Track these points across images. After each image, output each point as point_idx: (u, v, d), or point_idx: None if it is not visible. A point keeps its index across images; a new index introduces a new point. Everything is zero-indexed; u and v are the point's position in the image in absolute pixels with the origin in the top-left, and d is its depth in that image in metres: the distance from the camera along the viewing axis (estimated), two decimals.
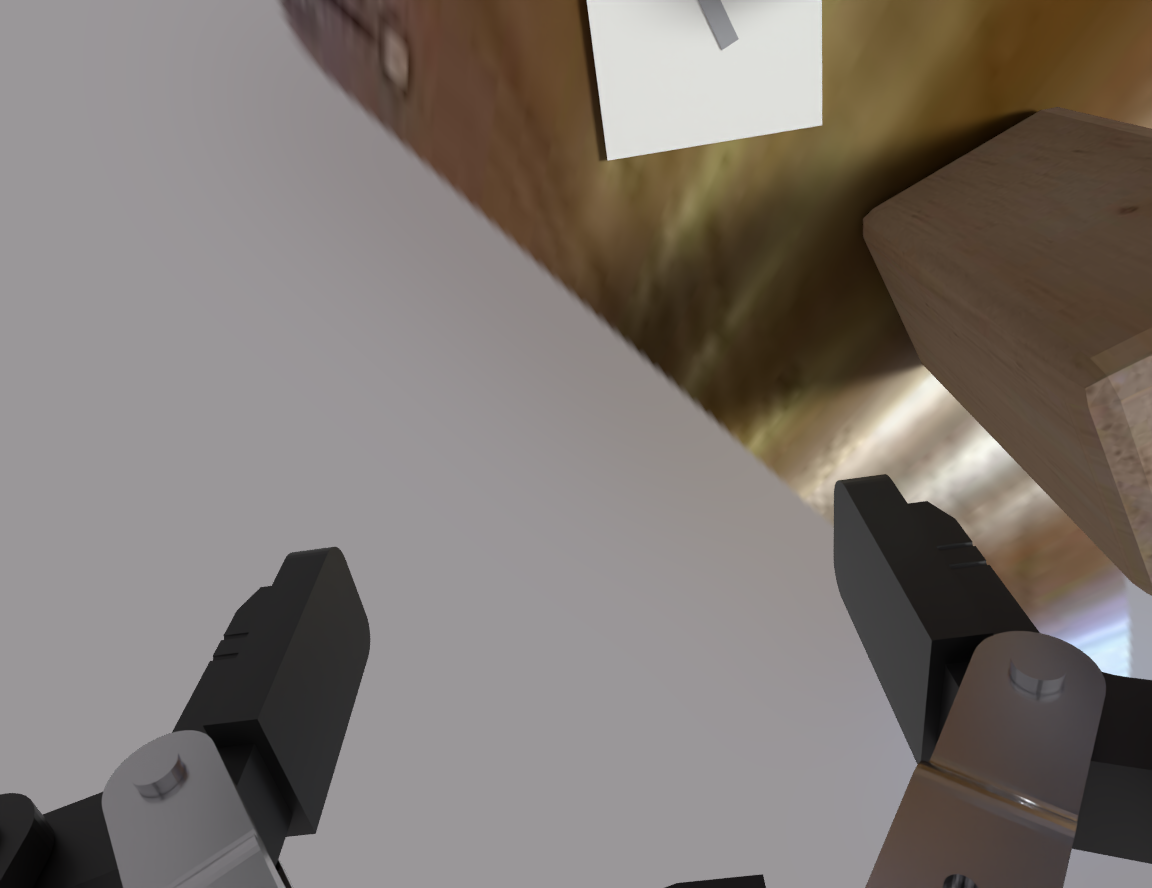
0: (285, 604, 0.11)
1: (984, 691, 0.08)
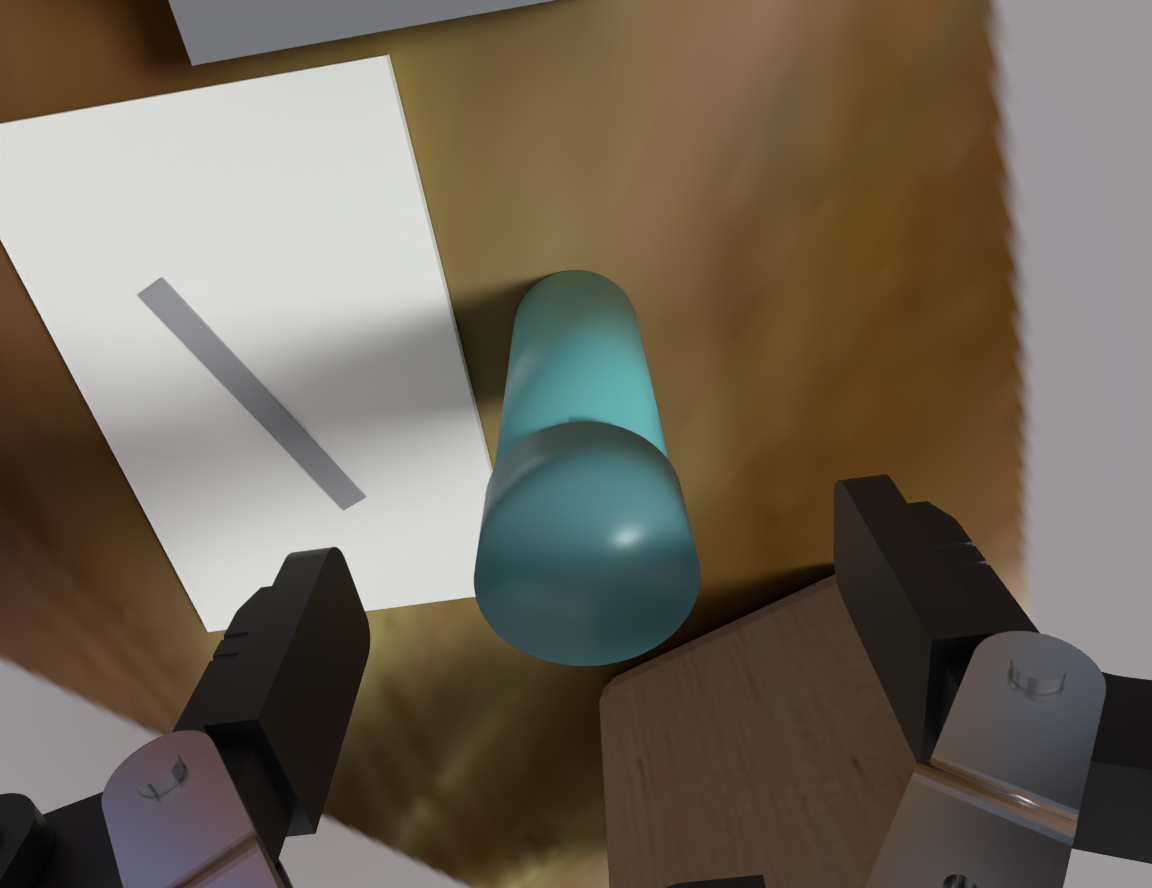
0: (285, 604, 0.11)
1: (984, 691, 0.08)
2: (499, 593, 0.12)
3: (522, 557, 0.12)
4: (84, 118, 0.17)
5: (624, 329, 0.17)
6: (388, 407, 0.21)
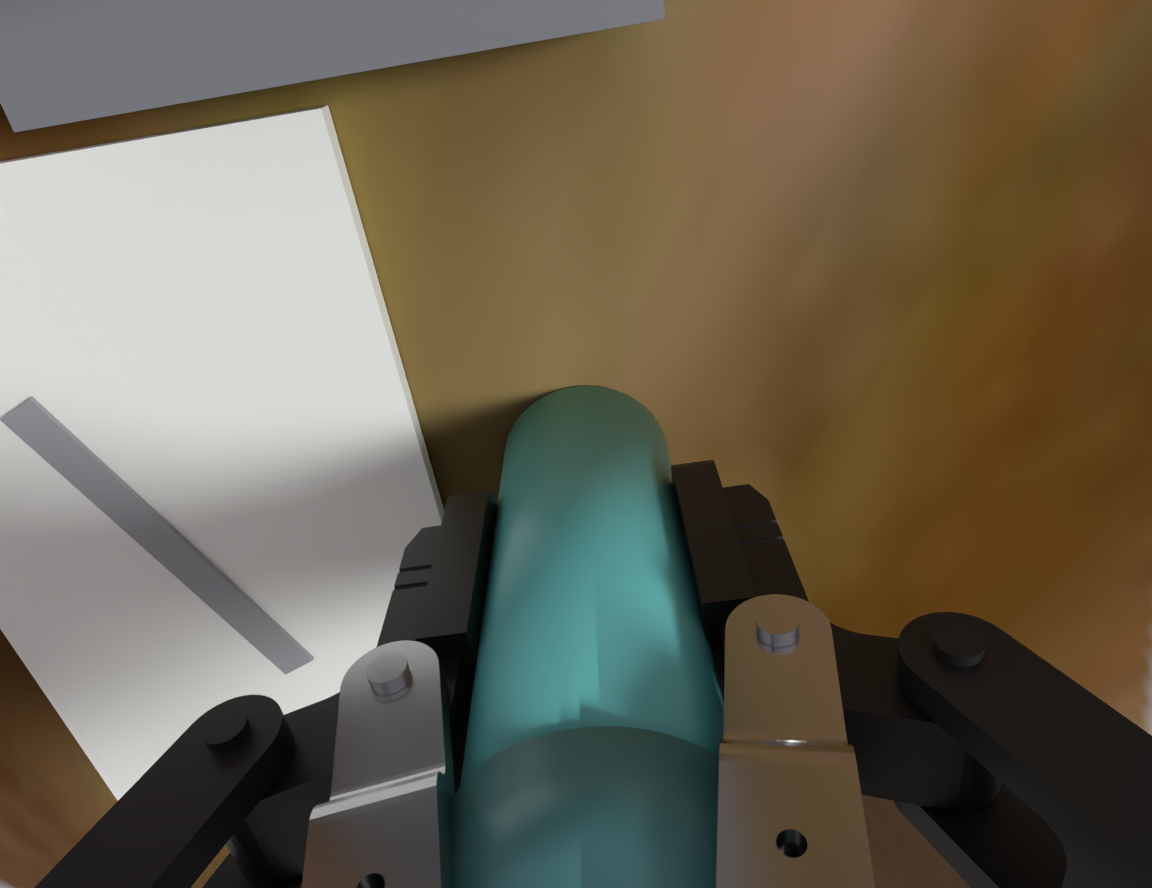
0: (460, 538, 0.12)
1: (745, 659, 0.09)
2: None
3: None
4: None
5: (656, 488, 0.12)
6: (339, 554, 0.16)
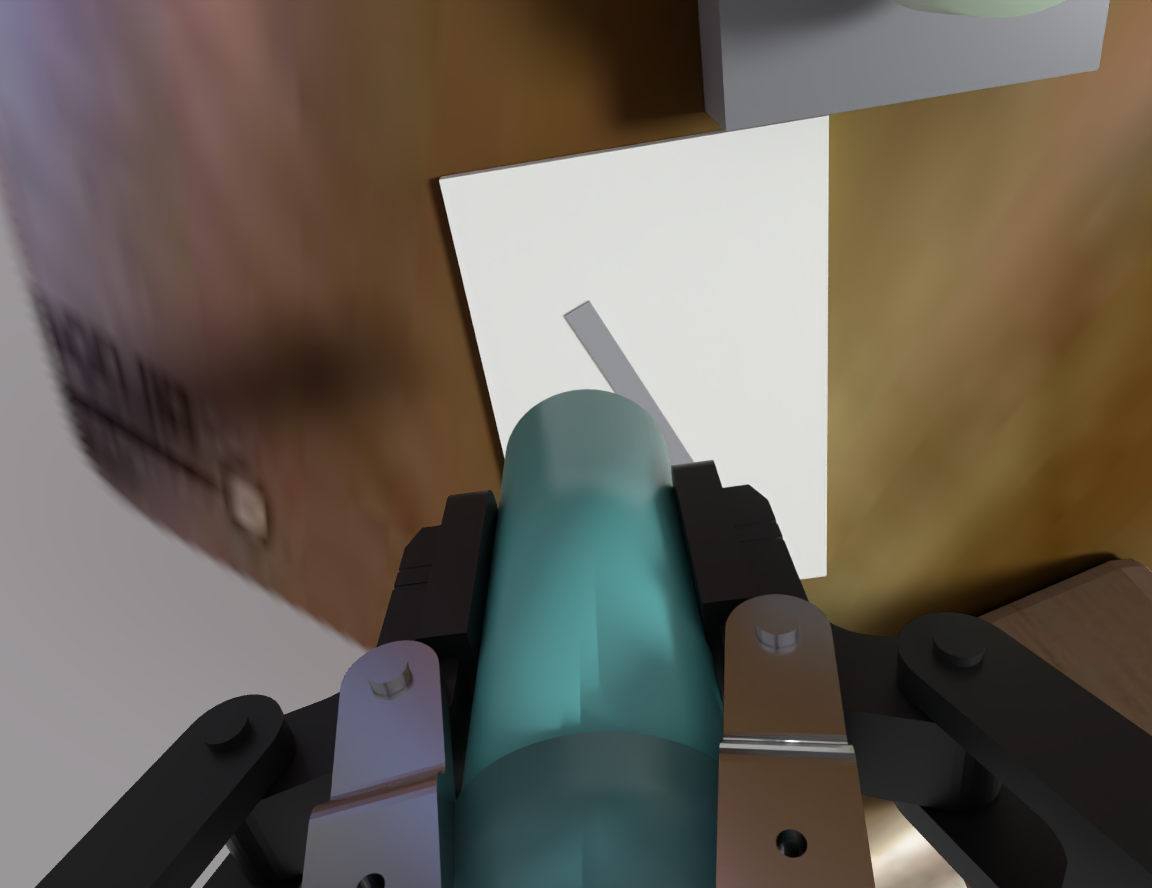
0: (460, 538, 0.12)
1: (745, 659, 0.09)
2: None
3: None
4: (561, 167, 0.20)
5: (656, 492, 0.12)
6: (753, 413, 0.24)
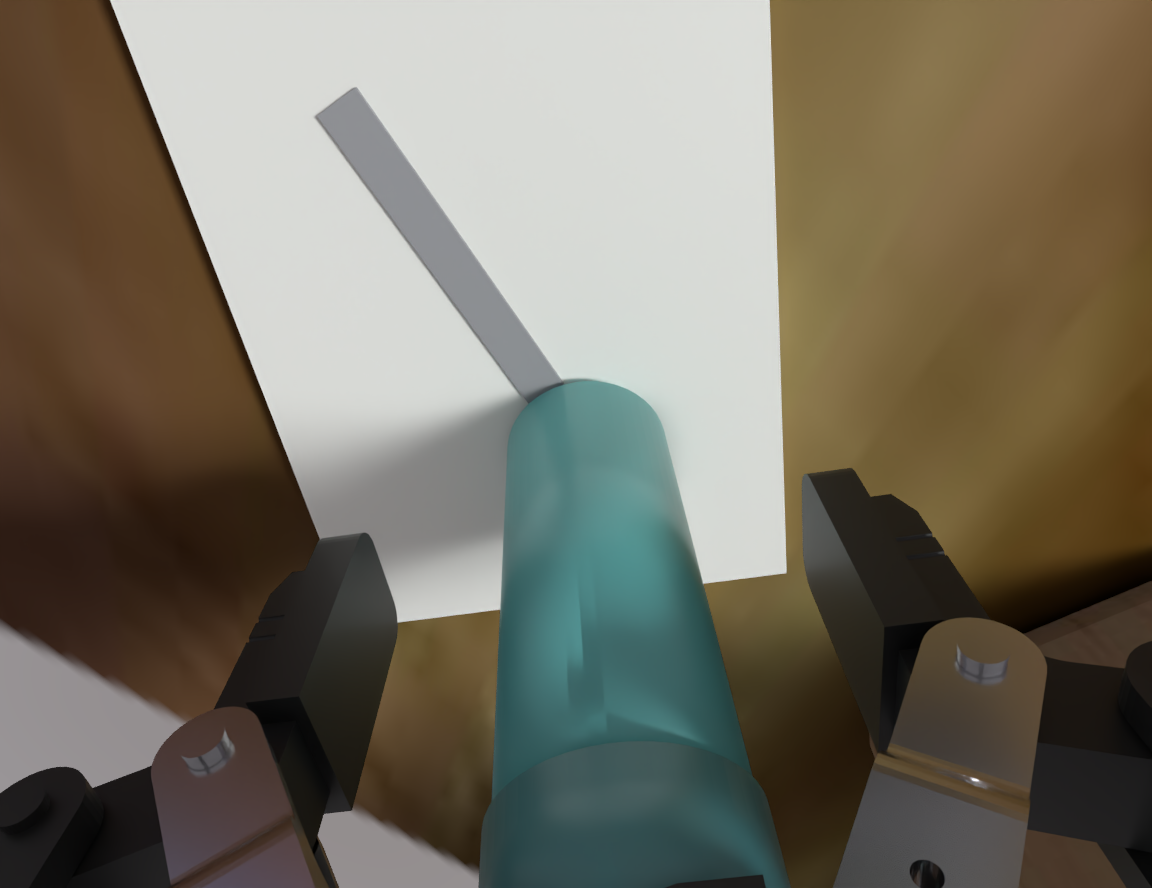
0: (320, 587, 0.11)
1: (934, 678, 0.08)
2: None
3: None
4: None
5: (660, 489, 0.13)
6: (656, 300, 0.15)
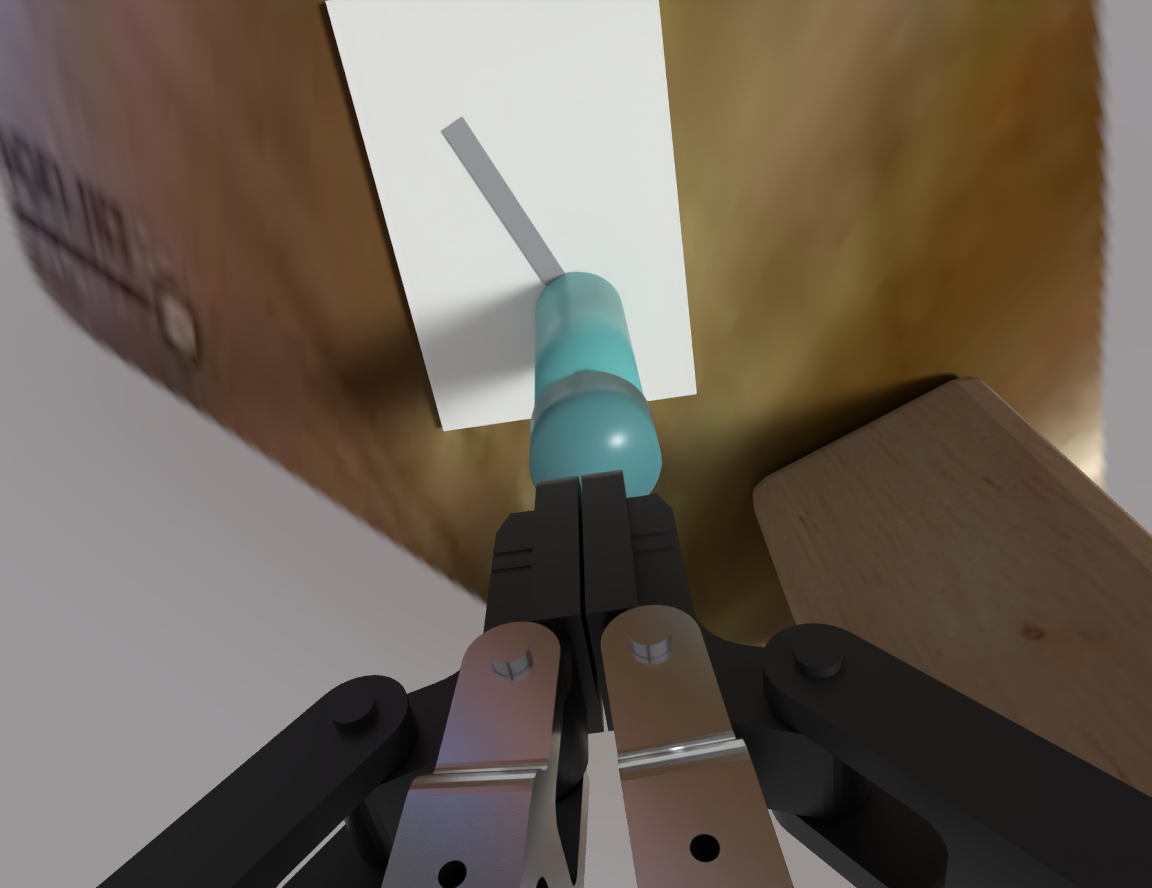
0: (557, 522, 0.12)
1: (625, 675, 0.09)
2: (544, 472, 0.20)
3: (559, 449, 0.20)
4: None
5: (614, 314, 0.26)
6: (615, 227, 0.27)
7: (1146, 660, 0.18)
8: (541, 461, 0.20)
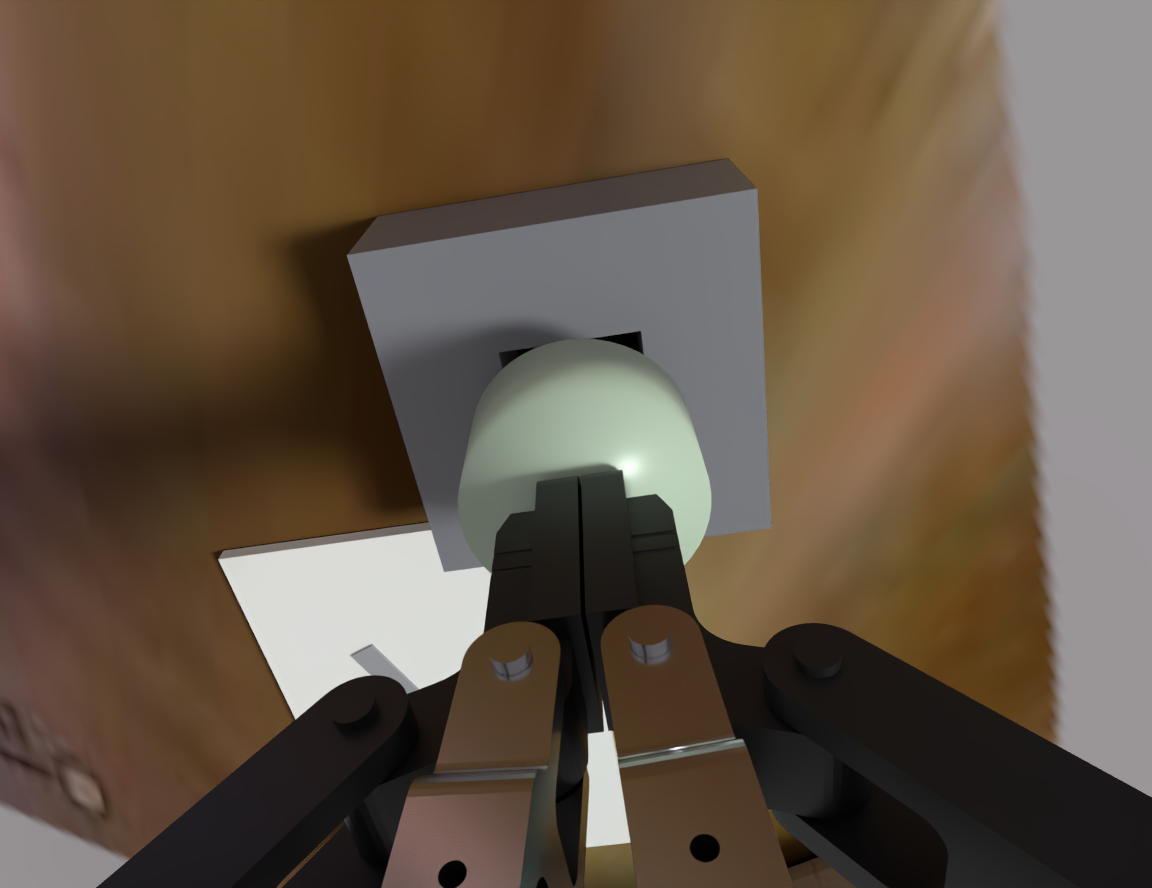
0: (557, 522, 0.12)
1: (625, 675, 0.09)
2: None
3: None
4: (328, 550, 0.22)
5: None
6: None
7: None
8: None
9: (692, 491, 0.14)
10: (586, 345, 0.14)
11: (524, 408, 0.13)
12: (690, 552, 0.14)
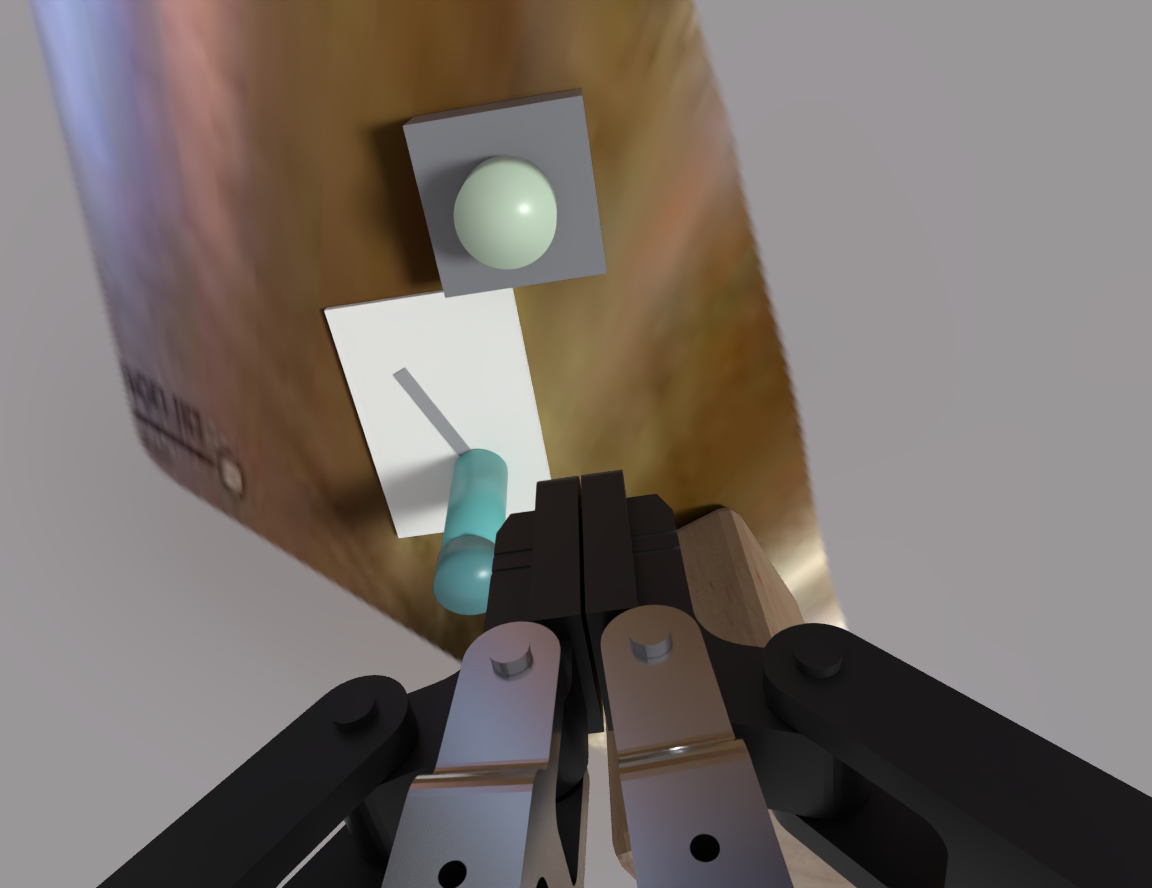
0: (557, 522, 0.12)
1: (625, 675, 0.09)
2: (441, 592, 0.38)
3: (448, 581, 0.38)
4: (383, 304, 0.42)
5: (494, 484, 0.44)
6: (499, 425, 0.45)
7: None
8: (439, 587, 0.38)
9: (548, 210, 0.34)
10: (508, 156, 0.35)
11: (479, 171, 0.33)
12: (550, 242, 0.35)
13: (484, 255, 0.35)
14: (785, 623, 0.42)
